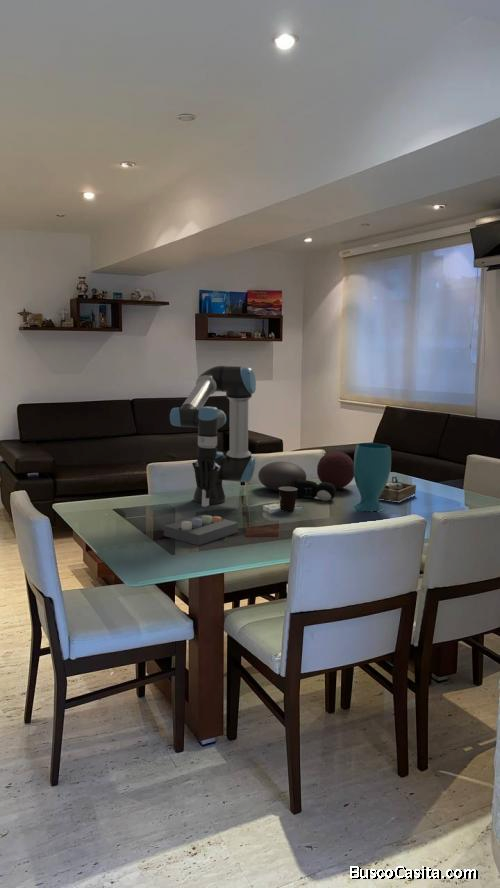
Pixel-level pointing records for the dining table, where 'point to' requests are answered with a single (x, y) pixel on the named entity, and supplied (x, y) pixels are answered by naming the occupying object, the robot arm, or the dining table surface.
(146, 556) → the dining table surface
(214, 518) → the button terracotta
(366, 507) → the vase
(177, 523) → the console
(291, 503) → the coffee mug
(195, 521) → the button slate
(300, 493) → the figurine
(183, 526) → the button ivory
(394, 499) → the camera caddy
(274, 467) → the smooth stone
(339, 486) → the decorative sphere
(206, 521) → the button sage
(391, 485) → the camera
